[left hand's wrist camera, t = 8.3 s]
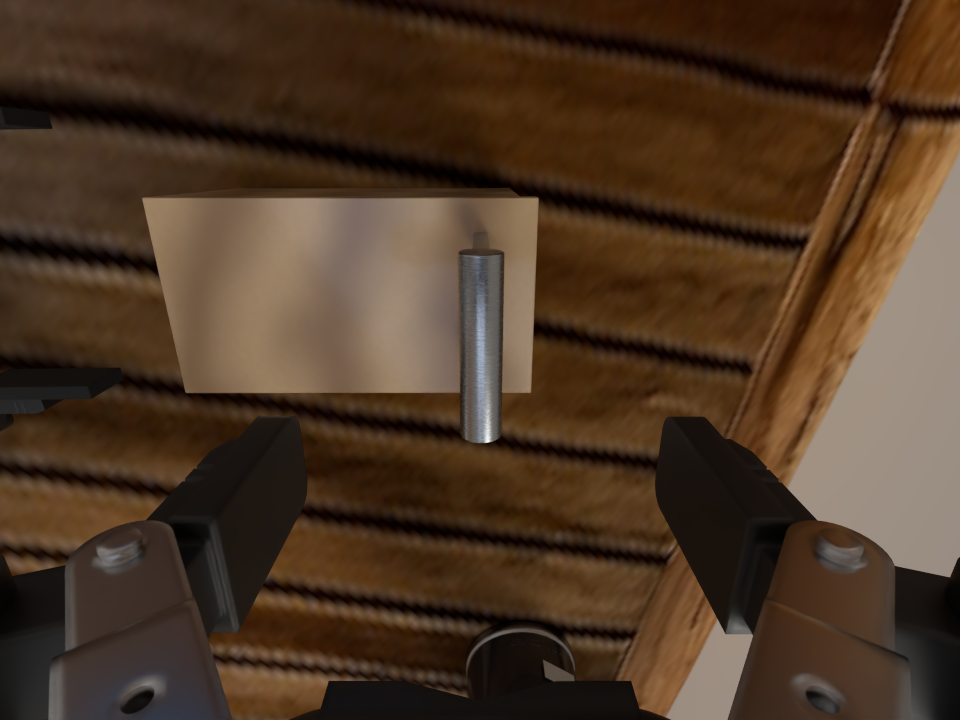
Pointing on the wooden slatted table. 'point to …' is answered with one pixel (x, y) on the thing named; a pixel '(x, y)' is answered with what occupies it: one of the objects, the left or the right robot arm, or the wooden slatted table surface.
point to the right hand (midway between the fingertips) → (71, 262)
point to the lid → (352, 296)
